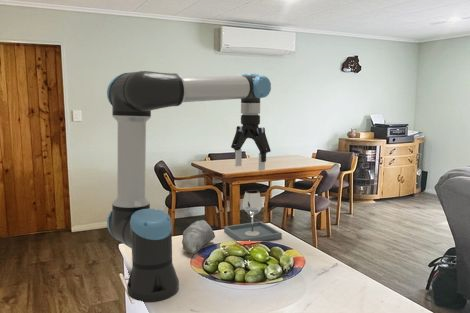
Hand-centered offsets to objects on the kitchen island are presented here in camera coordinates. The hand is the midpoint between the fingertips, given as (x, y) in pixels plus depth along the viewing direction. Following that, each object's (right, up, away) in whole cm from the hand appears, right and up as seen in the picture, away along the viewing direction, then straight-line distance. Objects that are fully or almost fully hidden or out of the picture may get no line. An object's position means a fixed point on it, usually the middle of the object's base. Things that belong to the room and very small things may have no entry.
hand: (249, 168), depth 156 cm
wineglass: (+1, -28, +9) cm, 29 cm away
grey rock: (-20, -31, -5) cm, 37 cm away
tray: (+1, -29, +9) cm, 30 cm away
